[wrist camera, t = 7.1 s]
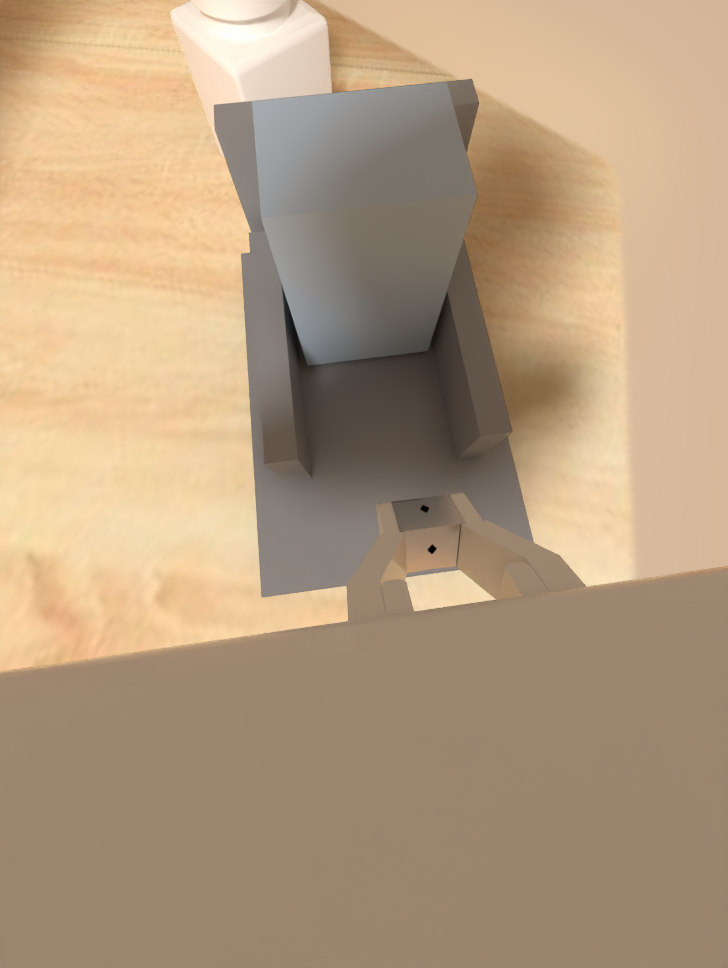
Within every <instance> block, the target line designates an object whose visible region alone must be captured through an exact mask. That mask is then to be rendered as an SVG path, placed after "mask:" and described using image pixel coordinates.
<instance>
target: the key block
mask: <svg viewBox="0 0 728 968" xmlns="http://www.w3.org/2000/svg"><path fill="white" fill-rule="evenodd" d="M252 110H253V122H254V135H255V147H256V160H257V173H258V185H259V198H260V211H261V219H262V223H263V226H264V229H265V232H266V235H267V238H268V242H269V245H270V248H271V251H272V254H273V258H274V261H275V264H276V267H277V270H278V273H279V277H280V280H281V283H282V286H283V289H284V292H285V296H286V299H287V302H288V305H289V308H290V311H291V315H292V318H293V321H294V324H295V327H296V330H297V334H298V337H299V340H300V343H301V346H302V350H303V353H304V356H305V359H306V362H307V365H308V366H310V365H318V364H326V363H334V362H342V361H351V360H359V359H367V358H375V357H383V356H392V355H400V354H408V353H416V352H425V351H428V349H429V346H430V343H431V339H432V336H433V333H434V330H435V327H436V324H437V321H438V317H439V314H440V311H441V308H442V305H443V302H444V299H445V296H446V292H447V289H448V286H449V283H450V280H451V277H452V274H453V270H454V267H455V264H456V261H457V258H458V255H459V252H460V249H461V245H462V242H463V239H464V236H465V233H466V230H467V227H468V223H469V220H470V217H471V214H472V211H473V208H474V205H475V202H476V198H477V195H478V194H477V190H476V186H475V183H474V179H473V175H472V172H471V168H470V165H469V161H468V157H467V154H466V150H465V146H464V143H463V139H462V135H461V132H460V128H459V125H458V121H457V117H456V114H455V110H454V106H453V103H452V99H451V96H450V92H449V88H448V85H447V82H442V83H432V84H422V85H412V86H402V87H392V88H382V89H372V90H362V91H352V92H342V93H332V94H322V95H312V96H302V97H292V98H282V99H272V100H262V101H252Z"/></svg>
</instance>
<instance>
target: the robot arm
mask: <svg viewBox="0 0 728 968" xmlns="http://www.w3.org/2000/svg"><path fill="white" fill-rule="evenodd" d="M376 509H377V520H378V530H379V536H378V537H377V539H376V540H375V542H374V543H373V545H372V547H371V548H370V550H369V551H368V553H367V554H366V556H365V558H364V559H363V561H362V562H361V564H360V565H359V567H358V568H357V570H356V572H355V573H354V575H353V576H352V578H351V579H350V581H349V583H348V584H347V603H348V621H347V622H340V623H333V624H326V625H319V626H312V627H306V628H299V629H292V630H285V631H278V632H271V633H264V634H257V635H251V636H244V637H237V638H230V639H223V640H216V641H209V642H202V643H196V644H189V645H182V646H175V647H168V648H161V649H154V650H147V651H141V652H134V653H127V654H120V655H113V656H106V657H99V658H92V659H86V660H79V661H72V662H65V663H58V664H51V665H44V666H37V667H29V668H21V669H13V670H6V671H1V672H0V968H728V566H725V567H718V568H712V569H705V570H698V571H691V572H685V573H677V574H670V575H663V576H656V577H650V578H643V579H636V580H629V581H622V582H615V583H608V584H601V585H595V586H588V587H586V586H585V584H584V583H583V582H582V581H581V580H580V579H579V577H578V576H577V575H576V574H575V573H574V572H573V571H572V569H571V568H570V567H569V566H568V565H567V564H566V562H565V561H564V560H563V559H562V558H561V557H560V556H559V555H557V554H555V553H553V552H551V551H549V550H547V549H545V548H543V547H541V546H539V545H537V544H535V543H533V542H531V541H529V540H527V539H524V538H522V537H520V536H518V535H516V534H514V533H512V532H510V531H508V530H506V529H504V528H502V527H500V526H498V525H496V524H494V523H492V522H489V521H487V520H486V521H482V519H481V518H480V516H479V515H478V513H477V512H476V510H475V509H474V507H473V506H472V504H471V503H470V501H469V500H468V498H467V497H466V495H465V494H464V493H463V492H457V493H451V494H447V495H441V496H434V497H427V498H418V499H409V500H400V501H392V502H384V503H377V504H376ZM454 566H457V568H458V569H460V570H461V571H462V572H463V573H465V574H466V575H467V576H468V577H469V578H471V579H472V580H473V581H474V582H476V583H477V584H478V585H479V586H480V587H482V588H483V589H484V590H485V591H487V592H488V593H489V594H490V595H491V596H493V597H494V598H495V599H496V600H491V601H484V602H477V603H470V604H464V605H457V606H450V607H443V608H436V609H429V610H422V611H415V612H414V610H413V606H412V602H411V599H410V595H409V591H408V587H407V584H406V582H405V578H406V576H407V573H411V572H417V571H423V570H429V569H437V568H445V567H454Z"/></svg>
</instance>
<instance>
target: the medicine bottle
mask: <svg viewBox="0 0 728 968" xmlns="http://www.w3.org/2000/svg"><path fill="white" fill-rule="evenodd" d="M170 16H171V21H172V24H173V26H174V29H175V32H176V34H177V37H178V40H179V43H180V45H181V48H182V51H183V54H184V56H185V59H186V62H187V64H188V67H189V70H190V73H191V75H192V78H193V81H194V83H195V86H196V89H197V92H198V94H199V97H200V100H201V103H202V105H203V108H204V111H205V113H206V116H207V119H208V122H209V124H210V127H211V130H212V133H213V135H214V138H215V141H216V143H217V146H218V149H219V152H220V154H221V156H222V157H223V158H224V159H225V157H224V154H223V152H222V149H221V146H220V143H219V140H218V138H217V135H216V132H215V127H214V105H216V104H226V103H236V102H246V101H256V100H266V99H276V98H286V97H296V96H306V95H316V94H326V93H333V90H332V76H331V62H330V48H329V34H328V24H327V21H326V19H325V18H324V16H322V15H321V14H320V13H319V12H317V11H316V10H315V9H314V8H312V7H311V6H310V5H308V4H307V3H306V2H305V1H303V0H190V1H188V2H186V3H184V4H182V5H180V6H178V7H176V8H174V9H173V10H171V15H170Z"/></svg>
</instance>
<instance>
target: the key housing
mask: <svg viewBox="0 0 728 968" xmlns="http://www.w3.org/2000/svg"><path fill="white" fill-rule="evenodd" d="M437 83H442V82H437ZM427 84H432V83H427ZM417 85H422V84H417ZM447 85H448V88H449V92H450V96H451V99H452V103H453V106H454V110H455V114H456V117H457V121H458V125H459V128H460V132H461V135H462V139H463V143H464V146H465V150H466V152H467V148H468V144H469V140H470V137H471V133H472V129H473V125H474V121H475V117H476V113H477V109H478V105H479V101H478V97H477V94H476V91H475V87H474V84H473V81H472V79H468V80H457V81H447ZM407 86H412V85H407ZM397 87H402V86H397ZM387 88H392V87H387ZM377 89H382V88H377ZM367 90H372V89H367ZM357 91H362V90H357ZM347 92H352V91H347ZM336 93H342V92H336ZM326 94H332V93H326ZM316 95H322V94H316ZM306 96H312V95H306ZM296 97H302V96H296ZM286 98H292V97H286ZM276 99H282V98H276ZM266 100H272V99H266ZM256 101H262V100H256ZM214 127H215V132H216V135H217V138H218V140H219V143H220V146H221V149H222V152H223V154H224V157H225V160H226V163H227V166H228V168H229V171H230V174H231V177H232V179H233V182H234V185H235V188H236V191H237V193H238V196H239V199H240V202H241V204H242V207H243V210H244V213H245V216H246V218H247V221H248V224H249V227H250V229H251V232H252V233H249V241H250V253H244V254H241V261H242V277H243V294H244V311H245V328H246V344H247V361H248V378H249V395H250V411H251V428H252V445H253V462H254V479H255V495H256V512H257V529H258V546H259V562H260V579H261V596H262V597H269V596H276V595H283V594H290V593H297V592H304V591H312V590H319V589H326V588H333V587H340V586H347V584H348V583H349V581H350V579H351V578H352V576H353V575H354V573H355V572H356V570H357V568H358V567H359V565H360V564H361V562H362V561H363V559H364V558H365V556H366V554H367V553H368V551H369V550H370V548H371V547H372V545H373V543H374V542H375V540H376V539H377V537H378V536H379V530H378V520H377V509H376V504H377V503H384V502H392V501H400V500H409V499H418V498H427V497H434V496H441V495H447V494H451V493H457V492H463V493H464V494H465V495H466V497H467V498H468V500H469V501H470V503H471V504H472V506H473V507H474V509H475V510H476V512H477V513H478V515H479V516H480V518H481V519H482V521H486V520H487V521H489V522H492V523H494V524H496V525H498V526H500V527H502V528H504V529H506V530H508V531H510V532H512V533H514V534H516V535H518V536H520V537H522V538H524V539H527V540H529V541H531V542H533V538H532V534H531V530H530V526H529V521H528V517H527V513H526V509H525V505H524V501H523V497H522V493H521V489H520V485H519V481H518V477H517V473H516V469H515V465H514V461H513V457H512V453H511V449H510V445H509V441H508V437H507V436H508V435H509V434H511V433H512V428H511V424H510V420H509V417H508V413H507V409H506V405H505V401H504V397H503V393H502V389H501V385H500V381H499V377H498V373H497V369H496V365H495V361H494V357H493V353H492V349H491V345H490V341H489V337H488V333H487V329H486V325H485V321H484V318H483V314H482V310H481V306H480V302H479V298H478V294H477V290H476V286H475V282H474V278H473V274H472V270H471V266H470V262H469V258H468V254H467V250H466V246H465V242H464V239H463V242H462V245H461V249H460V252H459V255H458V258H457V261H456V264H455V267H454V270H453V274H452V277H451V280H450V283H449V286H448V289H447V292H446V296H445V299H444V302H443V305H442V308H441V311H440V314H439V317H438V321H437V324H436V327H435V330H434V333H433V336H432V339H431V343H430V346H429V349H428V351H425V352H416V353H408V354H400V355H392V356H383V357H375V358H367V359H359V360H351V361H342V362H334V363H326V364H318V365H310V366H308V365H307V362H306V359H305V356H304V353H303V350H302V346H301V343H300V340H299V337H298V334H297V330H296V327H295V324H294V321H293V318H292V315H291V311H290V308H289V305H288V302H287V299H286V296H285V292H284V289H283V286H282V283H281V280H280V277H279V273H278V270H277V267H276V264H275V261H274V258H273V254H272V251H271V248H270V245H269V242H268V238H267V235H266V232H265V229H264V226H263V223H262V219H261V211H260V198H259V185H258V173H257V160H256V147H255V135H254V122H253V110H252V101H246V102H236V103H226V104H216V105H214ZM533 543H534V542H533ZM454 570H460V569H458V568H457V566H454V567H445V568H437V569H429V570H423V571H417V572H411V573H407V576H406V577H411V576H418V575H426V574H433V573H440V572H447V571H454Z"/></svg>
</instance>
